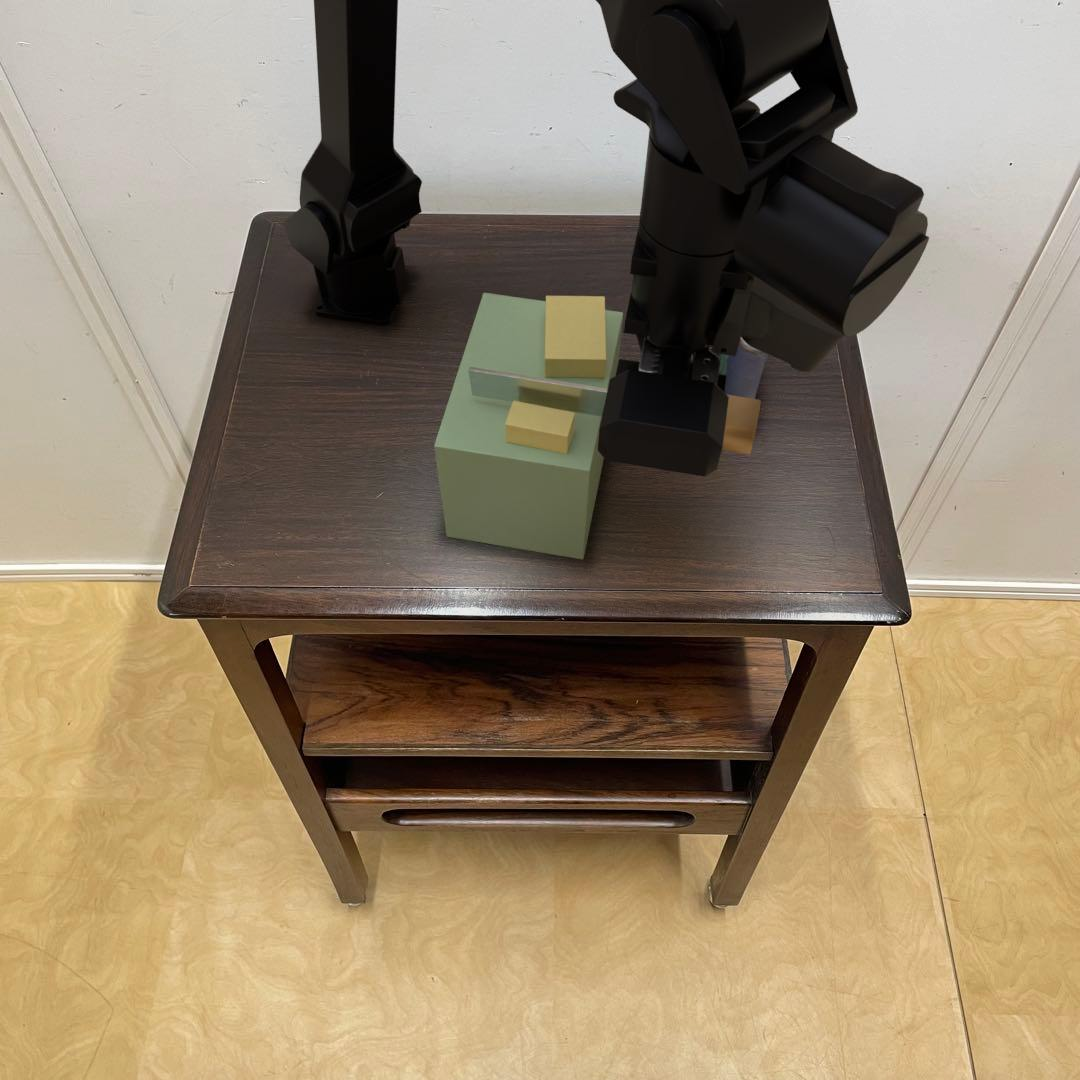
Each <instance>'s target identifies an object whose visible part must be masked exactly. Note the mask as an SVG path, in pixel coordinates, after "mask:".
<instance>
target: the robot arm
mask: <svg viewBox="0 0 1080 1080" xmlns="http://www.w3.org/2000/svg"><path fill="white" fill-rule="evenodd" d="M595 1H596V3H597V4H598V5H599V7H600V9H601V13H602V17H603V22H604V25H605V28H606V32H607V36H608V41H609V45H610V48H611V50H612V52H613V53H614V54H615V56H616V57H617V58H618V59H619V60H620V61H621V62H622V64H624V66H625V67H626V68H627V69H628V71H630V73H631V74H632V75H633V76H634V77H635V79H634V80H633V81H630V82H629V83H627V84H625V85H623V86H622V87H619V89H617V90H615V92H614V94H613V101H614V104H615V105H616V106H617V107H618V108H619V109H621V110H623V111H625V112H626V113H628V114H629V115H631V116H632V117H634V118H635V119H637V120H638V121H640V122H642V123H643V124H645V125H646V126H647V127H648V139H647V149H646V159H645V168H644V176H643V185H642V195H641V202H640V203H641V204H640V212H639V220H638V228H637V233H636V237H635V241H634V245H633V246H634V247H633V250H632V255H631V261H630V271H629V275H632V283H631V292H630V295H629V300H628V304H627V310H626V314H625V318H624V328H623V334H628V335H629V334H630V335H635V337H636V339H637V342H638V346H639V349H640V352H641V354H640V359H639V361H637V360H636V361H635V360H630V359H623V358H619V361H618V366H617V371H616V375H615V377H613V378H611V379H610V381H609V386H608V391H607V395H606V400H605V405H604V409H603V414H602V419H601V423H600V428H599V439H598V450H597V451H598V452H599V453H600V454H601V455H602V456H603V457H604V460H605V461H607V462H612V463H619V464H625V465H631V466H638V467H644V468H649V469H656V470H661V471H666V472H667V471H668V472H673V473H680V474H686V475H692V476H693V475H694V476H699V477H705V478H706V477H707V476H709V475H710V474H712V473H714V472H715V471H717V470H718V467H719V462H720V459H721V455H722V452H723V450H722V448H723V440H724V432H725V424H726V416H727V409H728V401H729V397H728V396H727V395H726V394H725V385H726V378H727V375H723V374H719V368H720V359H719V356H718V355H717V354H719V355H720V354H725V355H732V356H736V354H737V350H738V346H739V342H740V338H741V337H742V339H743V340H744V341H745V342H746V343H747V344H748V345H749V346H751V347H753V348H755V349H757V350H760V351H762V352H764V353H767V354H768V356H772V357H774V358H776V359H779V360H781V361H782V362H785V363H787V364H789V365H790V367H791V368H792V369H794V370H796V371H800V372H803V373H810V372H812V371H813V370H814V369H815V368H816V367H817V366H818V365H819V364H820V363H821V362H822V361H823V360H824V359H825V358H826V357H827V356H828V355H829V354H830V353H831V352H832V350H834V349H835V347H836V346H837V345H838V344H839V343H841V341H842V340H843V339H844V338H845V337H850V338H851V337H853V336H857V335H858V334H860V333H861V332H863V331H865V330H866V329H867V328H869V326H871V325H872V324H873V323H874V322H875V321H876V320H877V319H878V318H879V317H880V316H881V315H882V314H883V313H884V312H885V311H886V310H887V308H888V307H889V306H890V305H891V304H892V302H893V301H894V300H895V299H896V297H897V296H898V295H899V293H900V292H901V291H902V289H903V288H904V287H905V285H906V283H907V282H908V281H909V279H910V277H911V276H912V274H913V273H914V271H915V269H916V267H917V266H918V264H919V262H920V260H921V258H922V257H923V254H924V252H925V250H926V248H927V245H928V243H929V240H930V237H929V236H928V235H927V232H928V225H929V223H928V216H927V215H926V214H925V213H923V212H922V211H920V210H919V209H920V206H921V204H922V201H923V199H924V196H925V193H924V190H923V188H922V187H920V186H919V185H917V184H916V183H914V182H913V181H911V180H909V179H907V178H905V177H904V176H901V175H899V174H898V173H897V174H896V173H894V172H891V171H887V170H883V169H881V168H880V167H877V166H875V165H873V164H872V163H870V162H868V161H866V160H865V159H863V158H861V157H859V156H857V155H856V154H854V153H852V152H851V151H849V150H847V149H845V148H843V147H842V146H840V145H838V144H837V143H835V142H833V139H834V135H835V131H836V130H837V129H838V128H840V127H841V126H843V125H844V124H845V123H847V122H848V121H850V120H851V119H853V118H854V117H856V116H857V114H858V109H859V107H858V103H857V100H856V95H855V92H854V88H853V85H852V81H851V78H850V74H849V66H848V63H847V61H846V59H845V56H844V52H843V49H842V45H841V40H840V37H839V33H838V30H837V27H836V23H835V19H834V16H833V12H832V8H831V4H830V0H595ZM313 9H314V10H313V11H314V13H313V14H314V28H315V45H316V46H315V47H316V65H317V81H318V82H317V85H318V103H319V116H320V117H319V120H320V137H321V138H320V141H319V143H318V144H317V146H316V147H315V149H314V151H313V153H312V154H311V156H310V158H309V159H308V161H307V162H306V164H305V166H304V168H303V169H302V172H301V176H300V187H299V188H300V189H299V209H297V210H296V211H295V212H294V213H292V214H291V215H290V216H289V217H288V218H286V219H285V220H284V221H282V227H283V230H284V232H285V234H286V236H287V238H288V240H289V243H290V245H291V247H292V248H293V249H294V250H295V251H296V252H297V253H299V254H300V255H302V257H303V258H304V259H306V260H307V261H308V262H309V263H311V264H312V266H313V270H314V274H315V279H316V282H317V286H318V291H319V296H318V299H317V301H316V303H315V305H314V312H315V315H317V316H321V317H326V318H333V319H341V320H346V321H355V322H360V323H367V324H368V323H369V324H375V325H381V326H386V325H389V324H390V323H391V320H392V319H393V316H394V314H395V313H394V312H395V311H396V307H397V306H399V305H400V304H401V301H402V299H403V298H404V295H405V291H406V289H407V286H408V276H409V274H408V269H407V268H406V265H405V264H406V263H405V257H404V251H403V248H402V247H401V246H399V245H397V242H396V237H395V234H396V233H398V232H399V231H400V230H402V229H403V230H405V229H407V228H408V227H410V224H411V221H412V220H413V218H414V217H416V216H418V215H419V214H421V213H422V207H421V201H420V192H421V187H422V184H423V180H422V179H421V177H420V176H418V175H417V174H416V173H414V170H413V168H412V167H411V166H410V165H409V164H408V163H407V161H406V160H405V159H404V158H403V157H402V156H401V155H400V153H399V152H398V151H397V150H396V149H395V142H394V140H395V139H394V137H395V114H396V113H395V109H396V108H395V107H396V81H397V80H396V77H397V48H398V47H397V45H398V43H397V42H398V13H399V0H313ZM788 74H790V75H791V77H792V78H793V80H794V81H795V83H796V85H797V86H798V88H799V89H797V90H795V91H794V92H792V93H791V94H789V95H788V96H786V97H784V98H783V99H781V100H780V101H779V102H776V103H775V104H774V105H772V106H771V107H769V108H768V109H766V110H765V111H763V112H761V109H760V106H758V105H757V103H756V102H754V101H752V100H750V99H751V98H753V97H755V96H756V95H757V94H758V93H760V92H762V91H764V90H765V89H766V88H768V87H770V86H772V85H773V84H775V83H777V82H778V81H779V80H781V79H782V78H784V77H785V76H788ZM710 347H711V350H710Z"/></svg>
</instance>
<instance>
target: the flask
mask: <svg viewBox="0 0 1080 1080" xmlns="http://www.w3.org/2000/svg"><path fill="white" fill-rule="evenodd" d="M768 356H769V354H767V353H764V352H762V351H760V350H757V349H755V348H753V347H751V346H749V345H748V344H747V343H746V342H745V341H744V340H743V339H742V337H741V338H740V342H739V346H738V350H737V354H736V356H732V355H725V354H719V356H718V357H719V359H720V368H719V374H723V375H727V378H726V385H725V394H726V395H732V396H738V397H745V398H751V399H756V395H757V392H758V388H759V385H760V382H761V377H762V375H763V372H764V369H765V364H766V361H767V358H768Z"/></svg>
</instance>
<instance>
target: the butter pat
mask: <svg viewBox="0 0 1080 1080" xmlns="http://www.w3.org/2000/svg"><path fill="white" fill-rule="evenodd" d="M574 425H575V413H574V412H569V411H564V410H559V409H554V408H549V407H544V406H539V405H534V404H529V403H523V402H518V401H513V403H512V406H511V409H510V412H509V414H508V417H507V420H506V423H505V433H506V442H509V443H514V444H519V445H523V446H528V447H533V448H538V449H543V450H548V451H553V452H558V453H563V454H567V453H568V450H569V446H570V443H571V440H572V436H573V433H574Z"/></svg>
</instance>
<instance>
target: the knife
mask: <svg viewBox="0 0 1080 1080" xmlns="http://www.w3.org/2000/svg"><path fill="white" fill-rule="evenodd" d="M469 377H470V384H471V391H472V395H474V396H480V397H486V398H492V399H498V400H504V401H510V402H513V401H518V402H523V403H529V404H534V405H539V406H544V407H549V408H554V409H559V410H564V411H570V412H576V413H583V414H589V415H595V416H601V417H602V414H603V409H604V405H605V400H606V395H607V391H608V389H606V388H600V387H593V386H587V385H581V384H575V383H568V382H562V381H556V380H550V379H543V378H537V377H531V376H525V375H519V374H512V373H506V372H500V371H494V370H487V369H481V368H475V367H469ZM727 396H728V397H729V401H728V409H727V416H726V424H725V432H724V440H723V448H722V451H726V452H730V453H731V452H732V453H737V454H744V455H751V454H752V451H753V450H752V449H753V446H754V442H755V436H756V433H757V427H758V421H759V415H760V409H761V402H762V400H761V399H756V398H755V399H751V398H745V397H738V396H732V395H727Z"/></svg>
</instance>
